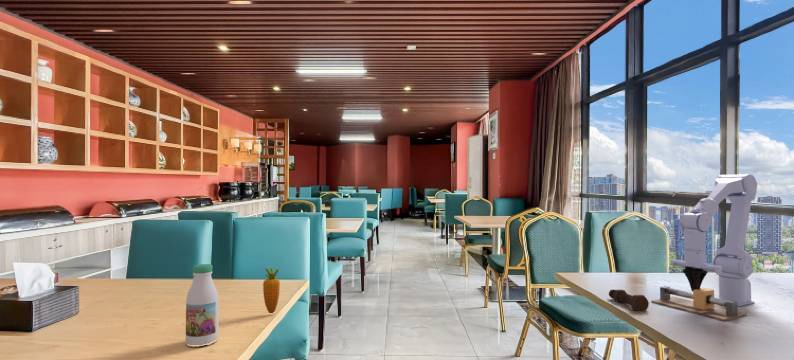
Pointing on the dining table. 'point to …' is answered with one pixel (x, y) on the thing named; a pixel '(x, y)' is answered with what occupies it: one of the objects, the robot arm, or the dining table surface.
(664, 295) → the rail
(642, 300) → the bolt
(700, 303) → the collar
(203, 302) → the milk bottle
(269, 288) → the carrot
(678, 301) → the board
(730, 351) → the dining table surface
